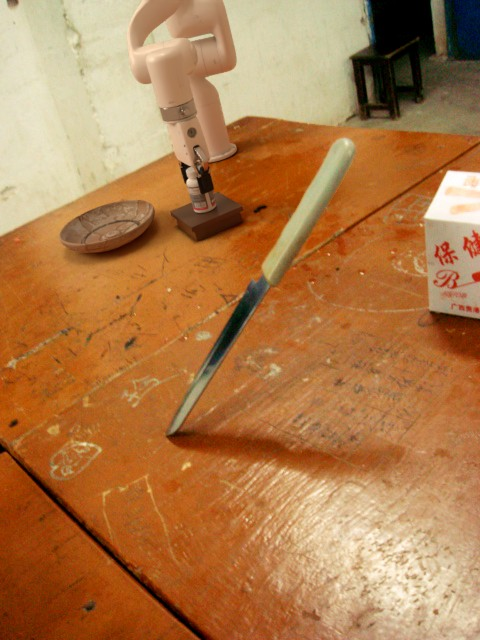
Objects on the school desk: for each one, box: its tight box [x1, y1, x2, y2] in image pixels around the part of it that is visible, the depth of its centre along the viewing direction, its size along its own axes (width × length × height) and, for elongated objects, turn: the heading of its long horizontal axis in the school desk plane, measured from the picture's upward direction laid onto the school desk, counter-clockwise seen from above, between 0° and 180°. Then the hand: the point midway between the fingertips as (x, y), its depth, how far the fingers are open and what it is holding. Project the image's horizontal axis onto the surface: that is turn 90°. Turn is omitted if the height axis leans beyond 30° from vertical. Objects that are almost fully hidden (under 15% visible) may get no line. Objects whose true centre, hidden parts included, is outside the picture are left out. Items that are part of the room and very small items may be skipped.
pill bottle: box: [185, 165, 216, 213], centre depth 144 cm, size 5×5×10 cm
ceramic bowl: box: [58, 199, 156, 254], centre depth 153 cm, size 23×24×5 cm
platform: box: [169, 191, 244, 242], centre depth 148 cm, size 13×13×4 cm
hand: (199, 186), depth 144 cm, fingers open, 8 cm apart
